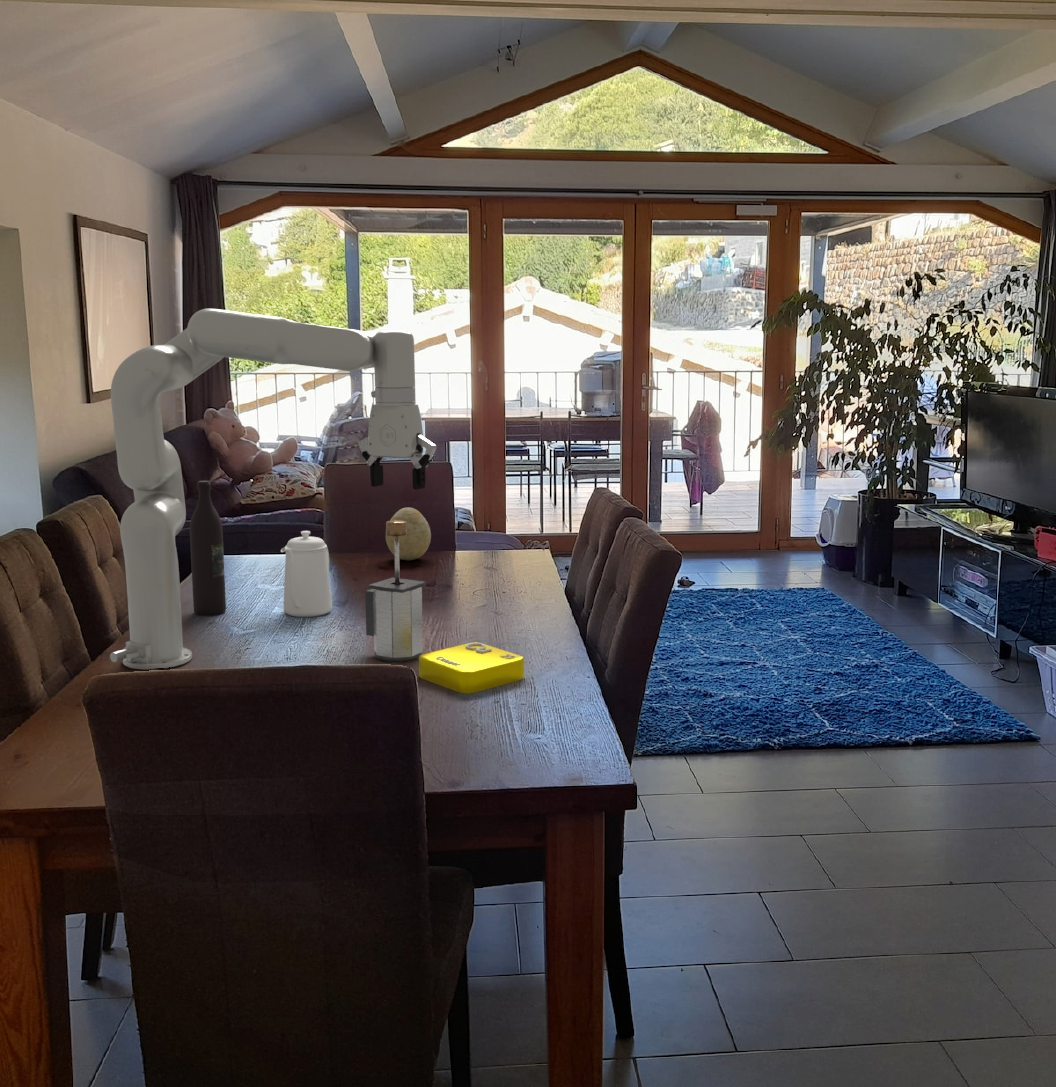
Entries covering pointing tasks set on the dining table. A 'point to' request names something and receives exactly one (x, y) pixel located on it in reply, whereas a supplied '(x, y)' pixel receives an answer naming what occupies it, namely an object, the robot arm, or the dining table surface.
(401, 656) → the grey faceted container
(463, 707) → the dining table surface
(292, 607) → the coffeepot
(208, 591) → the wine bottle
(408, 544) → the fossilized egg
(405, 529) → the plunger
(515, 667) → the element tile
